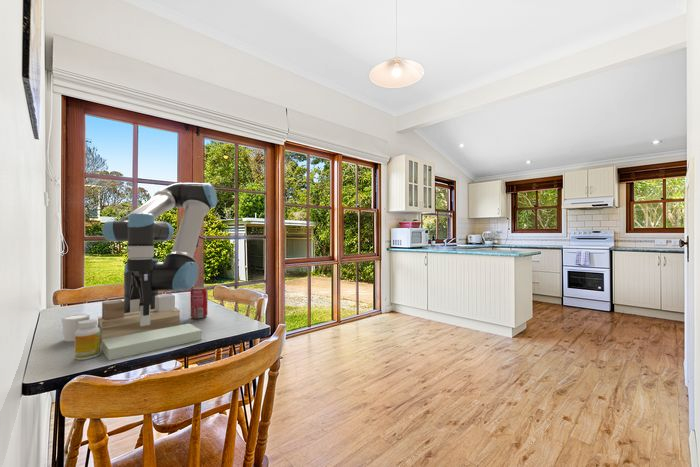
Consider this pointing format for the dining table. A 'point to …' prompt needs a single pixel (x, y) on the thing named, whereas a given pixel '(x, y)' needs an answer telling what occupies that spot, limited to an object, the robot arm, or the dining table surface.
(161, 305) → the white cube
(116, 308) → the brown wooden cube
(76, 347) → the supplement bottle
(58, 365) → the dining table surface
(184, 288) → the robot arm
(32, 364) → the dining table surface
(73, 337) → the white cup
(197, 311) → the beverage can
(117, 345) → the block
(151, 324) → the wooden block
